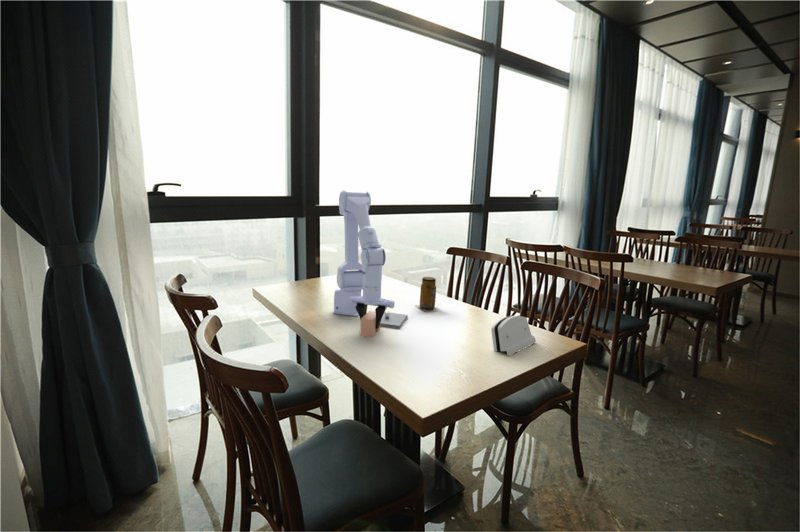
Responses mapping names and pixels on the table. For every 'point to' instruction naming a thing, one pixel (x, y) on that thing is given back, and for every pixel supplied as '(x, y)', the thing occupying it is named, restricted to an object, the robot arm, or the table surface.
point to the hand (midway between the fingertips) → (370, 326)
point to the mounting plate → (393, 320)
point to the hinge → (511, 334)
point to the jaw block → (368, 324)
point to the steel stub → (387, 314)
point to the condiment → (428, 295)
